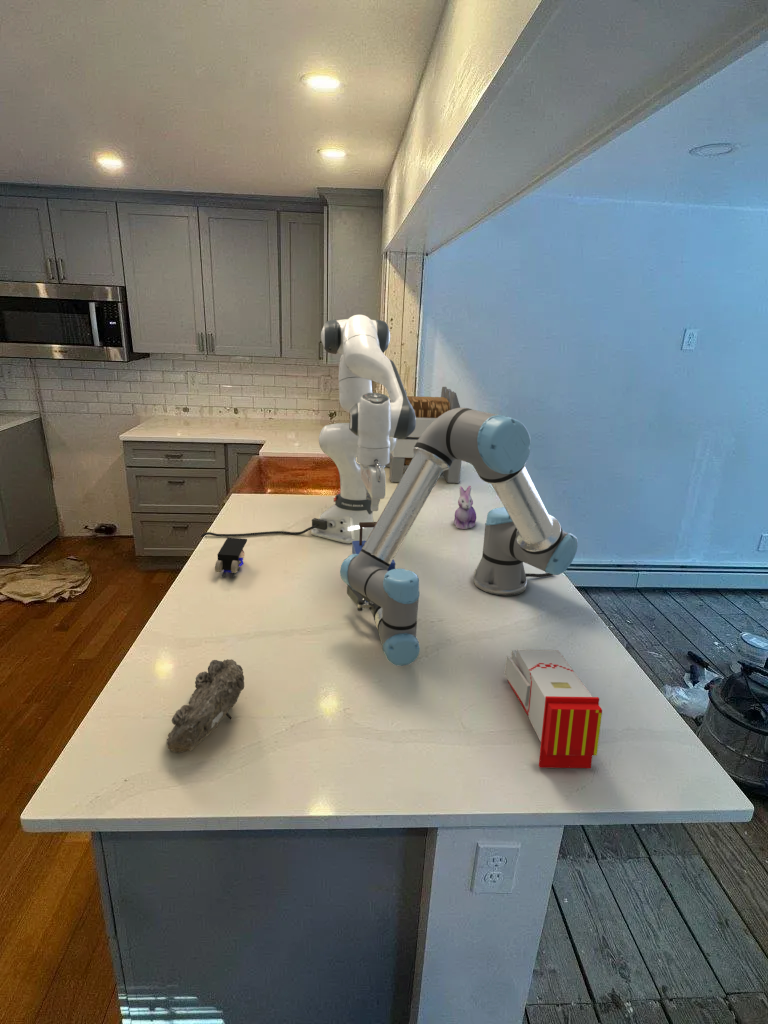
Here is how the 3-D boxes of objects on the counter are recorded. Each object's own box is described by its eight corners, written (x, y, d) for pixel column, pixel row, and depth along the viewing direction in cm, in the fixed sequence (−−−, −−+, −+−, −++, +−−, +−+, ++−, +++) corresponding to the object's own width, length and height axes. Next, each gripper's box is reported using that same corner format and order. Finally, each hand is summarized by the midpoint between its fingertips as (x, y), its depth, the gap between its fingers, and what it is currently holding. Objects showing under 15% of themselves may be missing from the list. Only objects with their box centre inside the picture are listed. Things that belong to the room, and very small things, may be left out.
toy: (554, 631, 124) (612, 705, 95) (548, 687, 127) (603, 776, 98) (499, 630, 124) (540, 704, 94) (495, 686, 126) (533, 775, 97)
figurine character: (238, 584, 162) (249, 557, 175) (236, 562, 158) (247, 536, 172) (215, 584, 161) (227, 556, 175) (212, 561, 158) (225, 535, 171)
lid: (351, 543, 163) (352, 518, 160) (384, 542, 165) (385, 517, 162) (359, 567, 148) (360, 540, 146) (395, 566, 150) (396, 538, 147)
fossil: (192, 660, 117) (244, 628, 112) (224, 691, 120) (276, 661, 115) (142, 746, 98) (202, 712, 93) (182, 779, 101) (242, 748, 96)
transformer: (382, 463, 289) (386, 382, 275) (445, 464, 293) (451, 384, 279) (390, 482, 257) (394, 392, 243) (460, 483, 261) (468, 394, 247)
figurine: (462, 531, 204) (465, 492, 199) (446, 522, 213) (449, 483, 207) (483, 528, 208) (487, 489, 203) (467, 518, 217) (470, 481, 212)
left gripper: (392, 465, 142) (389, 517, 147) (378, 447, 161) (377, 493, 166) (367, 465, 141) (365, 517, 146) (356, 447, 160) (355, 493, 165)
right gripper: (342, 633, 132) (333, 588, 153) (434, 627, 136) (413, 585, 157) (343, 604, 130) (334, 563, 150) (437, 600, 134) (415, 560, 154)
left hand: (371, 504), depth 156 cm, fingers open, 8 cm apart
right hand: (374, 574), depth 153 cm, fingers closed on chest, 9 cm apart
